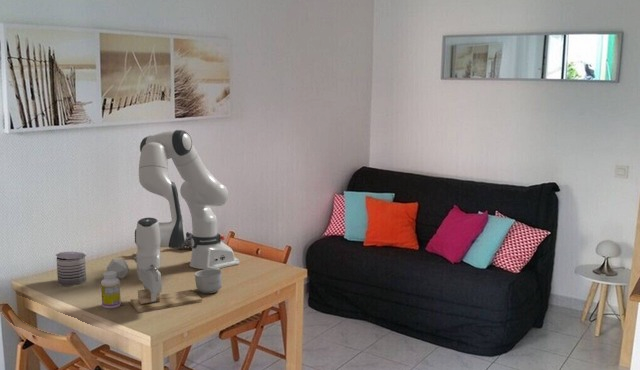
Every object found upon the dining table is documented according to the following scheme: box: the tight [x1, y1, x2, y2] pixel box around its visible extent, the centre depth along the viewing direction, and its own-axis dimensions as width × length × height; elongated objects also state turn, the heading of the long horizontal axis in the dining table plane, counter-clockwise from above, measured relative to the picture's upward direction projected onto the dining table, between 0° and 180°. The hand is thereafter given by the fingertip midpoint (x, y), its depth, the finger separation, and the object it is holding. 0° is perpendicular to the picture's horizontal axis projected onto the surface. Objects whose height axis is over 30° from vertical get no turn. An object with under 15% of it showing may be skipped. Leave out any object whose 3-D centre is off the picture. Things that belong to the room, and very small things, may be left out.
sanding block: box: [137, 288, 161, 305], centre depth 237 cm, size 7×4×4 cm, turn 120°
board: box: [129, 289, 203, 314], centre depth 241 cm, size 24×12×1 cm, turn 120°
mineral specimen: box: [177, 231, 193, 250], centre depth 313 cm, size 13×10×11 cm
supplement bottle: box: [100, 271, 122, 309], centre depth 235 cm, size 7×7×13 cm
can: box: [55, 250, 87, 287], centre depth 262 cm, size 11×11×12 cm
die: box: [106, 258, 130, 279], centre depth 269 cm, size 8×9×10 cm
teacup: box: [194, 268, 223, 294], centre depth 255 cm, size 14×11×8 cm
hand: (150, 297), depth 237 cm, fingers open, 6 cm apart
